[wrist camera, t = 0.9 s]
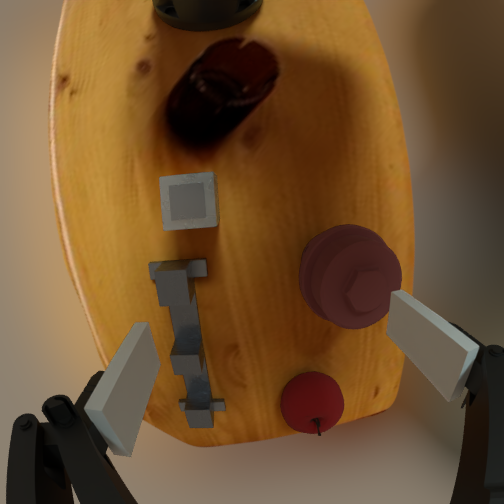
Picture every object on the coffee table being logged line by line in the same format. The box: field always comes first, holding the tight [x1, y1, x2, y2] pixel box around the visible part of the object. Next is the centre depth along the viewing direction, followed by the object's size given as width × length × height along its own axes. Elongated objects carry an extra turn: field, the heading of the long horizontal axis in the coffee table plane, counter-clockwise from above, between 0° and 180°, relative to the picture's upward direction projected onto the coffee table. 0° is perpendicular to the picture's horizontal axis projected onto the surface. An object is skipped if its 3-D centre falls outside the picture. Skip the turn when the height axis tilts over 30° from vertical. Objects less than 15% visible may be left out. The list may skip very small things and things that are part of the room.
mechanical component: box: [299, 224, 402, 329], centre depth 28 cm, size 12×10×10 cm
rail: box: [148, 258, 226, 428], centre depth 33 cm, size 24×7×4 cm, turn 3°
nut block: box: [159, 172, 220, 231], centre depth 28 cm, size 5×5×7 cm
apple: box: [280, 371, 344, 436], centre depth 33 cm, size 9×9×10 cm
